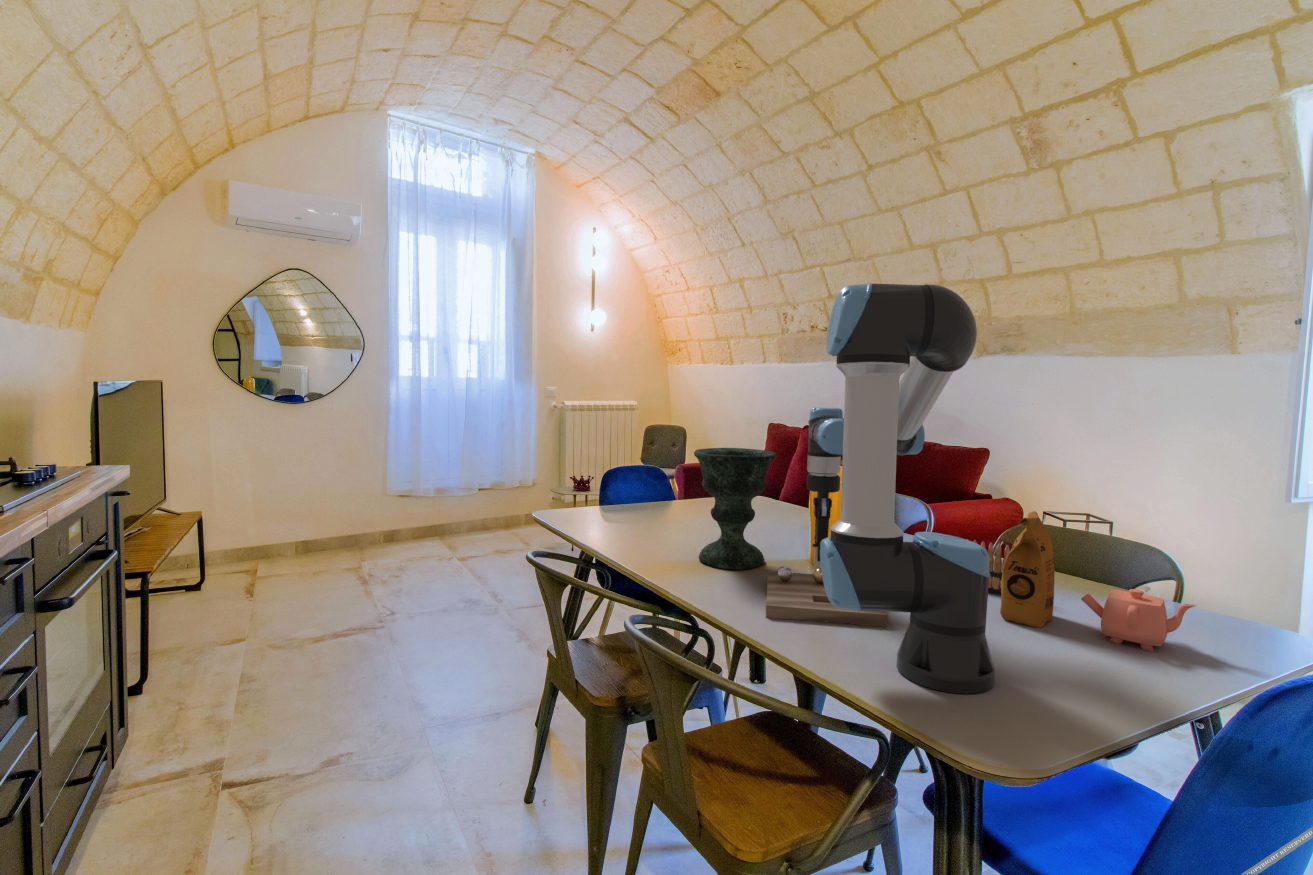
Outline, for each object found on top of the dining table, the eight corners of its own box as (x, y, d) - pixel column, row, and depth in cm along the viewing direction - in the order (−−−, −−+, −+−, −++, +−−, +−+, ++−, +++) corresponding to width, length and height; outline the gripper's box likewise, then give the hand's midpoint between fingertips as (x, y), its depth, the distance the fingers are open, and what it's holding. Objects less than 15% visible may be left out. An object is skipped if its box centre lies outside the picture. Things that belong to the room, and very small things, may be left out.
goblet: (681, 567, 175) (684, 453, 172) (701, 547, 196) (704, 446, 194) (766, 576, 168) (770, 457, 166) (777, 554, 190) (780, 449, 187)
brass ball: (828, 585, 153) (829, 570, 152) (812, 584, 153) (813, 569, 153) (827, 581, 156) (827, 566, 156) (811, 580, 157) (812, 565, 156)
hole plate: (886, 626, 134) (887, 614, 134) (765, 617, 138) (766, 605, 138) (869, 588, 160) (869, 578, 159) (767, 581, 164) (768, 571, 164)
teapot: (1115, 652, 123) (1119, 599, 122) (1076, 629, 135) (1079, 580, 134) (1193, 655, 123) (1198, 601, 122) (1147, 631, 135) (1151, 582, 134)
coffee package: (991, 618, 140) (997, 515, 138) (1007, 604, 150) (1013, 507, 148) (1044, 631, 134) (1052, 522, 132) (1058, 615, 143) (1065, 514, 141)
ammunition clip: (1009, 594, 157) (1012, 544, 156) (1007, 596, 156) (1011, 545, 155) (961, 585, 164) (963, 537, 163) (959, 587, 162) (961, 538, 161)
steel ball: (792, 583, 154) (793, 568, 154) (777, 582, 155) (777, 567, 154) (792, 578, 157) (792, 564, 157) (777, 577, 158) (777, 563, 158)
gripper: (843, 478, 148) (838, 582, 150) (837, 471, 161) (833, 567, 163) (808, 476, 150) (804, 580, 152) (806, 469, 163) (802, 565, 164)
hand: (819, 573), depth 157 cm, fingers closed
